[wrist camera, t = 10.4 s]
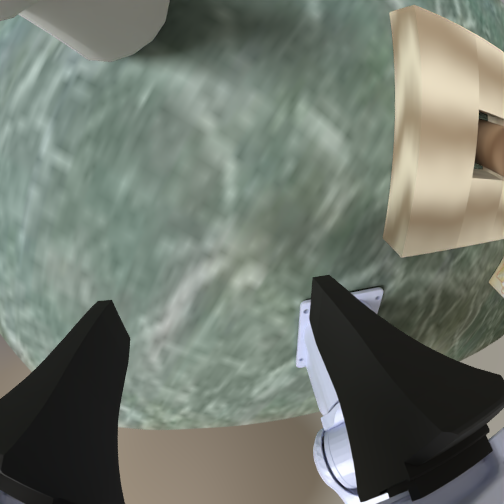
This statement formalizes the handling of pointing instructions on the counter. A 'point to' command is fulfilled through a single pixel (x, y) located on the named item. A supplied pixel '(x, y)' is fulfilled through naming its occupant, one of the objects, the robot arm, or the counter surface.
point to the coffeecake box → (498, 279)
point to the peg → (490, 146)
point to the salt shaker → (94, 23)
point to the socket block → (442, 136)
